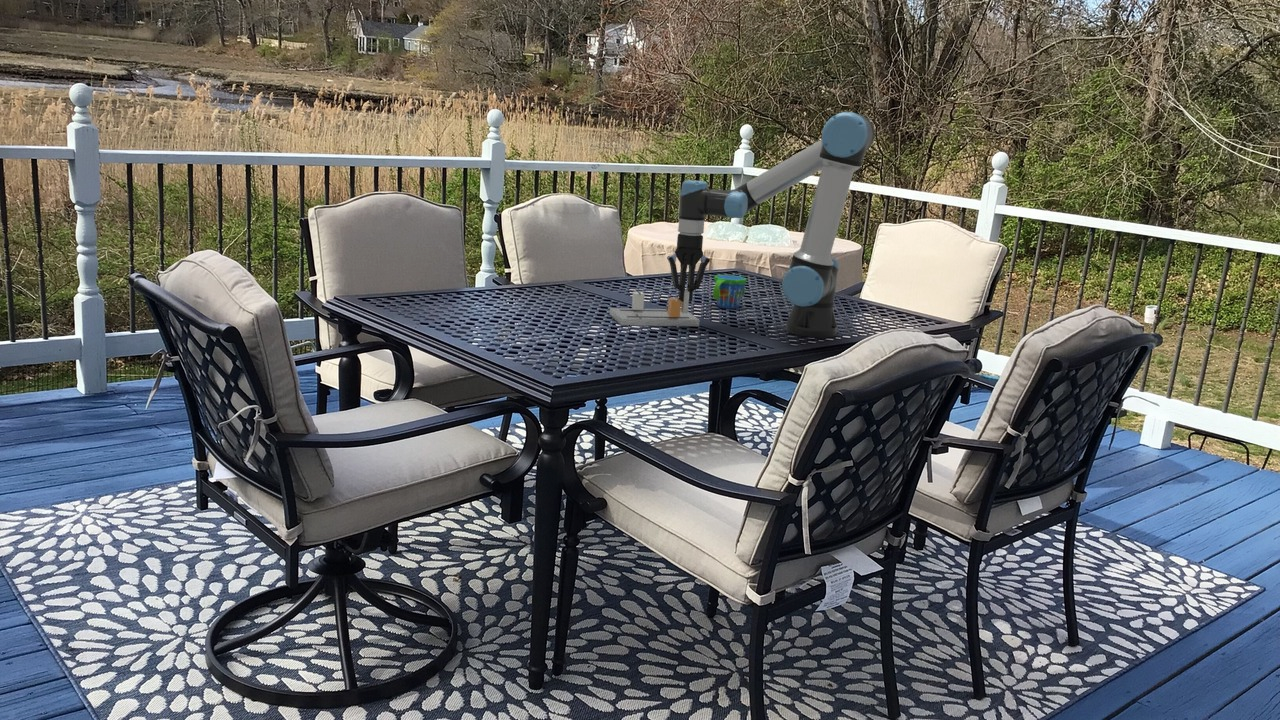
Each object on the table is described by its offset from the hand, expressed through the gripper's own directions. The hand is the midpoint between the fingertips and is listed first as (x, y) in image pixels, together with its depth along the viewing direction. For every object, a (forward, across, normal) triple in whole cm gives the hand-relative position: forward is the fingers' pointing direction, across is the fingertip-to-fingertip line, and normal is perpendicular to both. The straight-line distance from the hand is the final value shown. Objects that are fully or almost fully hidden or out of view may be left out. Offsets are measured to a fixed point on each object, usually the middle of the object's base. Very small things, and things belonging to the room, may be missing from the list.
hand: (684, 312), depth 294 cm
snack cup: (+4, -24, -28) cm, 37 cm away
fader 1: (+1, +12, -10) cm, 16 cm away
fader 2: (+1, +3, 0) cm, 3 cm away
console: (+4, +8, -5) cm, 10 cm away
